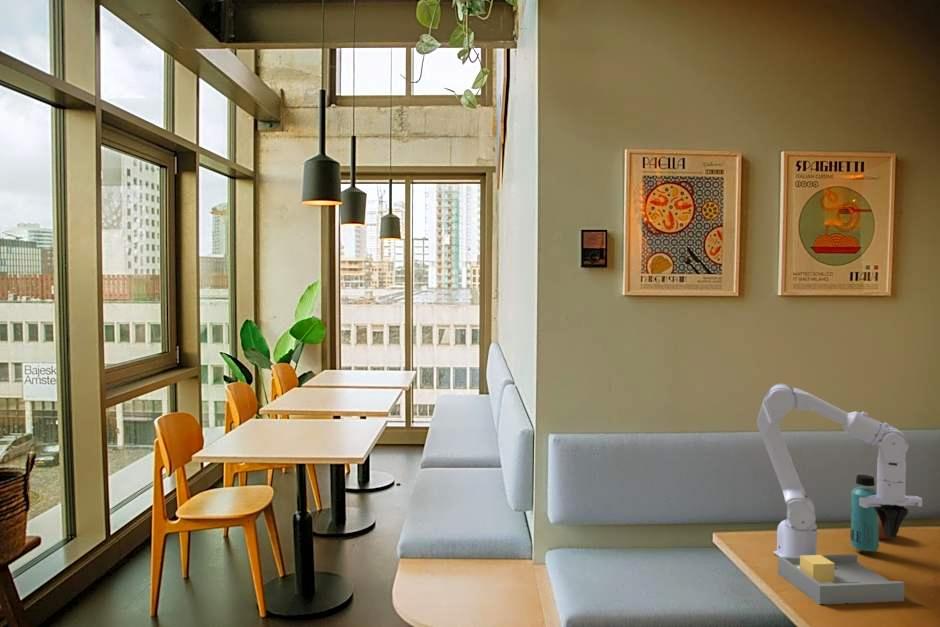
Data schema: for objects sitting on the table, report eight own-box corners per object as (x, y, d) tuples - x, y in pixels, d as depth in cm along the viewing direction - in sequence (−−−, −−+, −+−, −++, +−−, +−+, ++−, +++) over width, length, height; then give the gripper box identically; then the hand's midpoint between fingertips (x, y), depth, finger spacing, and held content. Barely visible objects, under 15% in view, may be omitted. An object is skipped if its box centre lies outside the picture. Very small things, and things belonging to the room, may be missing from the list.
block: (799, 572, 151) (800, 555, 151) (820, 571, 151) (820, 554, 151) (813, 582, 146) (813, 564, 146) (834, 581, 146) (834, 563, 146)
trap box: (777, 573, 156) (778, 556, 156) (854, 570, 158) (854, 554, 158) (819, 604, 140) (820, 586, 140) (904, 601, 142) (904, 582, 142)
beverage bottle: (883, 553, 169) (885, 476, 168) (871, 559, 165) (872, 480, 164) (857, 545, 174) (858, 471, 174) (844, 551, 170) (846, 474, 170)
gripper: (874, 484, 150) (873, 543, 150) (933, 483, 151) (931, 541, 152) (853, 476, 157) (852, 532, 157) (909, 475, 158) (908, 530, 159)
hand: (890, 536), depth 155 cm, fingers closed
